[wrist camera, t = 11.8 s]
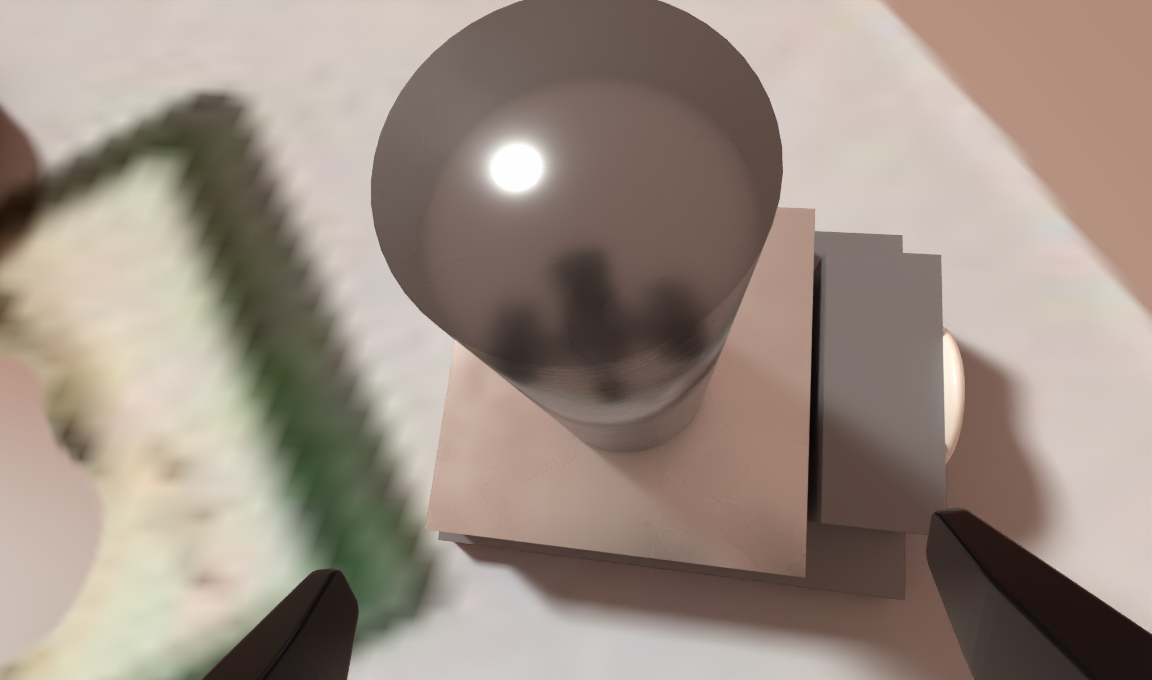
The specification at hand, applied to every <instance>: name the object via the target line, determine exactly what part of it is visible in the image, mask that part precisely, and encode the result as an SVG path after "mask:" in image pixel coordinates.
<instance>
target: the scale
mask: <svg viewBox="0 0 1152 680" xmlns="http://www.w3.org/2000/svg"><path fill="white" fill-rule="evenodd" d="M964 406H965V377H964V368H963V362H962V357H961V354H960V350H959V347H958V345H957V342H956V340H955V338H954V337H953V335H952V334H951V332H950V331H948V330H947V329H946V328H944V327H943V322H942V276H941V255H931V254H911V253H903V247H902V235H884V234H862V233H840V232H819V231H815V232H814V270H813V307H812V345H811V382H810V420H809V457H808V495H807V532H806V570H805V578H804V577H796V576H788V575H780V574H772V573H765V572H757V571H749V570H741V569H733V568H725V567H717V566H709V565H702V564H694V563H686V562H678V561H670V560H662V559H654V558H646V557H639V556H631V555H623V554H615V553H607V552H599V551H591V550H583V549H576V548H568V547H560V546H552V545H544V544H536V543H528V542H520V541H513V540H505V539H497V538H489V537H481V536H473V535H465V534H457V533H450V532H442V531H439V537H438V540H443V541H451V542H459V543H467V544H474V545H482V546H490V547H498V548H505V549H513V550H521V551H529V552H536V553H544V554H552V555H559V556H567V557H575V558H583V559H590V560H598V561H606V562H614V563H621V564H629V565H637V566H645V567H652V568H660V569H668V570H676V571H683V572H691V573H699V574H706V575H714V576H722V577H730V578H737V579H745V580H753V581H761V582H768V583H776V584H784V585H792V586H799V587H807V588H815V589H823V590H830V591H838V592H846V593H854V594H861V595H869V596H877V597H884V598H892V599H900V600H905V533H914V534H923V535H928V534H929V527H930V520H931V516H932V514H933V512H935V511H937V510H944V509H947V504H946V464H947V463H948V462H949V460H950V458H951V457H952V455H953V453H954V450H955V448H956V445H957V442H958V439H959V436H960V432H961V427H962V422H963V415H964Z"/></svg>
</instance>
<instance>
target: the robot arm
mask: <svg viewBox="0 0 1152 680" xmlns="http://www.w3.org/2000/svg"><path fill="white" fill-rule="evenodd" d="M926 555H927V561H928V565H929V567H930V570H931V573H932V575H933V578H934V580H935V583H936V586H937V588H938V591H939V593H940V596H941V598H942V601H943V603H944V606H945V609H946V611H947V614H948V616H949V619H950V621H951V624H952V627H953V629H954V632H955V634H956V637H957V639H958V642H959V645H960V647H961V650H962V652H963V655H964V657H965V659H966V662H967V664H968V667H969V669H970V671H971V673H972V675H973V677H974V679H975V680H1152V634H1151V633H1149V632H1148V631H1146V630H1145V629H1143V628H1142V627H1140V626H1139V625H1137V624H1136V623H1134V622H1133V621H1131V620H1130V619H1128V618H1127V617H1126V616H1124V615H1123V614H1121V613H1120V612H1118V611H1117V610H1115V609H1114V608H1112V607H1111V606H1109V605H1108V604H1106V603H1105V602H1103V601H1102V600H1100V599H1099V598H1097V597H1096V596H1094V595H1093V594H1091V593H1090V592H1088V591H1087V590H1085V589H1084V588H1083V587H1081V586H1080V585H1078V584H1077V583H1075V582H1074V581H1072V580H1071V579H1069V578H1068V577H1066V576H1065V575H1063V574H1062V573H1060V572H1059V571H1057V570H1056V569H1054V568H1053V567H1051V566H1050V565H1048V564H1047V563H1045V562H1044V561H1042V560H1041V559H1039V558H1038V557H1037V556H1035V555H1034V554H1032V553H1031V552H1029V551H1028V550H1026V549H1025V548H1023V547H1022V546H1020V545H1019V544H1017V543H1016V542H1014V541H1013V540H1011V539H1010V538H1008V537H1007V536H1005V535H1004V534H1002V533H1001V532H999V531H998V530H996V529H995V528H994V527H992V526H991V525H989V524H988V523H986V522H985V521H983V520H982V519H980V518H979V517H977V516H976V515H974V514H973V513H971V512H970V511H968V510H966V509H963V508H954V509H944V510H937V511H935V512H933V514H932V516H931V520H930V527H929V534H928V541H927V548H926ZM358 615H359V608H358V602H357V600H356V598H355V596H354V593H353V591H352V589H351V587H350V585H349V583H348V581H347V579H346V577H345V575H344V574H343V572H342V571H341V570H339V569H337V568H332V569H322V570H316V571H313V572H312V573H310V574H309V575H308V576H307V577H306V578H305V579H304V580H303V581H302V582H301V583H300V584H299V585H298V586H297V587H296V588H295V589H294V590H293V591H292V592H291V593H290V594H289V595H288V596H286V597H285V598H284V599H283V600H282V601H281V602H280V603H279V604H278V605H277V606H276V607H275V608H274V609H273V610H272V611H271V612H270V613H269V614H268V615H267V616H266V617H265V618H264V619H263V620H262V621H261V622H260V623H259V624H258V625H257V626H256V627H255V628H254V629H253V630H252V631H251V632H250V633H249V634H247V635H246V636H245V637H244V638H243V639H242V640H241V641H240V642H239V643H238V644H237V645H236V646H235V647H234V648H233V649H232V650H231V651H230V652H229V653H228V654H227V655H226V656H225V657H224V658H223V659H222V660H221V661H220V662H219V663H218V664H217V665H216V666H215V667H214V668H213V669H212V670H211V671H210V672H208V673H207V674H206V675H205V676H204V677H203V678H202V679H201V680H347V677H348V671H349V666H350V660H351V655H352V649H353V644H354V638H355V633H356V627H357V622H358Z"/></svg>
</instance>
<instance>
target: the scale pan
mask: <svg viewBox="0 0 1152 680" xmlns="http://www.w3.org/2000/svg"><path fill="white" fill-rule="evenodd" d="M814 232H815V209H804V208H780V207H777V210H776V214H775V217H774V221H773V225H772V227H771V230H770V232H769V235H768V237H767V240H766V242H765V245H764V247H763V250H762V252H761V254H760V257H759V259H758V262H757V264H756V267H755V269H754V272H753V274H752V277H751V279H750V282H749V284H748V287H747V289H746V292H745V294H744V297H743V299H742V302H741V304H740V307H739V309H738V312H737V314H736V317H735V319H734V322H733V324H732V327H731V329H730V332H729V334H728V337H727V339H726V342H725V344H724V347H723V349H722V352H721V354H720V357H719V359H718V362H717V364H716V367H715V369H714V372H713V374H712V377H711V379H710V382H709V384H708V387H707V389H706V392H705V394H704V397H703V399H702V401H701V404H700V406H699V408H698V410H697V412H696V413H695V415H694V417H693V418H692V419H691V421H690V422H689V423H688V424H687V426H686V427H684V428H683V429H682V430H681V431H680V432H679V433H678V434H677V435H675V436H674V437H673V438H671V439H670V440H668V441H666V442H664V443H663V444H661V445H659V446H656V447H653V448H651V449H647V450H643V451H638V452H628V453H627V452H613V451H607V450H603V449H600V448H597V447H594V446H592V445H590V444H588V443H586V442H584V441H582V440H581V439H579V438H578V437H576V436H575V435H574V434H572V433H571V432H570V431H569V430H567V429H566V428H565V427H564V426H562V425H561V424H560V423H559V422H557V421H556V420H555V419H554V418H552V417H551V416H550V415H549V414H547V413H546V412H545V411H544V410H542V409H541V408H540V407H539V406H537V405H536V404H535V403H534V402H532V401H531V400H530V399H529V398H527V397H526V396H525V395H524V394H522V393H521V392H520V391H519V390H517V389H516V388H515V387H514V386H512V385H511V384H510V383H509V382H507V381H506V380H505V379H504V378H502V377H501V376H500V375H499V374H497V373H496V372H495V371H494V370H492V369H491V368H490V367H489V366H487V365H486V364H485V363H484V362H482V361H481V360H480V359H479V358H477V357H476V356H475V355H474V354H472V353H471V352H470V351H469V350H467V349H466V348H465V347H464V346H462V345H461V344H460V343H459V342H457V341H456V340H455V344H454V350H453V356H452V363H451V369H450V375H449V382H448V388H447V394H446V401H445V407H444V413H443V420H442V426H441V432H440V438H439V445H438V451H437V457H436V464H435V470H434V476H433V483H432V489H431V495H430V502H429V508H428V514H427V520H426V527H425V529H426V530H434V531H442V532H450V533H457V534H465V535H473V536H481V537H489V538H497V539H505V540H513V541H520V542H528V543H536V544H544V545H552V546H560V547H568V548H576V549H583V550H591V551H599V552H607V553H615V554H623V555H631V556H639V557H646V558H654V559H662V560H670V561H678V562H686V563H694V564H702V565H709V566H717V567H725V568H733V569H741V570H749V571H757V572H765V573H772V574H780V575H788V576H796V577H804V578H805V570H806V532H807V495H808V457H809V420H810V382H811V345H812V307H813V270H814Z"/></svg>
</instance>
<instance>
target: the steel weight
mask: <svg viewBox="0 0 1152 680" xmlns="http://www.w3.org/2000/svg"><path fill="white" fill-rule="evenodd" d="M782 174H783V166H782V145H781V139H780V134H779V129H778V123H777V120H776V117H775V114H774V111H773V108H772V105H771V102H770V100H769V97H768V95H767V93H766V92H765V90H764V88H763V86H762V84H761V82H760V80H759V78H758V76H757V75H756V74H755V72H754V71H753V69H752V68H751V67H750V65H749V64H748V63H747V61H746V60H745V58H744V57H743V56H742V55H741V54H740V53H739V52H738V51H737V50H736V49H735V48H734V47H733V46H732V45H731V44H730V43H729V42H728V40H727V39H725V38H724V37H723V36H721V35H720V34H719V33H718V32H716V31H715V30H714V29H713V28H711V27H710V26H709V25H707V24H706V23H704V22H702V21H701V20H699V19H697V18H696V17H694V16H692V15H691V14H689V13H687V12H685V11H683V10H681V9H678V8H676V7H674V6H671V5H669V4H667V3H664V2H661V1H658V0H523V1H519V2H516V3H514V4H511V5H509V6H506V7H504V8H501V9H499V10H496V11H494V12H492V13H490V14H488V15H486V16H484V17H483V18H481V19H479V20H477V21H475V22H473V23H471V24H470V25H469V26H467V27H466V28H464V29H463V30H461V31H460V32H458V33H457V34H455V35H454V36H452V37H451V38H450V39H449V40H448V41H446V42H445V43H444V44H443V45H442V46H440V47H439V48H438V49H437V50H436V51H435V52H433V53H432V54H431V56H430V57H429V58H428V59H427V60H426V61H425V62H424V63H423V64H422V65H421V66H420V67H419V68H418V69H417V71H416V72H415V73H414V74H413V76H412V77H411V79H410V80H409V81H408V83H407V84H406V85H405V87H404V88H403V89H402V91H401V93H400V94H399V96H398V98H397V100H396V101H395V103H394V105H393V107H392V108H391V110H390V112H389V115H388V117H387V119H386V122H385V124H384V127H383V129H382V131H381V134H380V138H379V141H378V145H377V149H376V152H375V156H374V163H373V170H372V178H371V206H372V213H373V220H374V226H375V230H376V234H377V237H378V241H379V244H380V247H381V251H382V253H383V255H384V257H385V259H386V262H387V264H388V266H389V268H390V270H391V272H392V274H393V276H394V277H395V279H396V280H397V282H398V283H399V285H400V286H401V288H402V289H403V291H404V292H405V294H406V295H407V296H408V297H409V298H410V299H411V301H412V302H413V303H414V304H415V305H416V306H417V307H418V308H419V310H420V311H421V312H422V313H423V314H425V315H426V316H427V317H428V318H429V319H430V320H432V321H433V322H434V323H435V324H436V325H438V326H439V327H440V328H441V329H442V330H444V331H445V332H446V333H447V334H449V335H450V336H451V337H452V338H454V339H455V340H456V341H457V342H459V343H460V344H461V345H462V346H464V347H465V348H466V349H467V350H469V351H470V352H471V353H472V354H474V355H475V356H476V357H477V358H479V359H480V360H481V361H482V362H484V363H485V364H486V365H487V366H489V367H490V368H491V369H492V370H494V371H495V372H496V373H497V374H499V375H500V376H501V377H502V378H504V379H505V380H506V381H507V382H509V383H510V384H511V385H512V386H514V387H515V388H516V389H517V390H519V391H520V392H521V393H522V394H524V395H525V396H526V397H527V398H529V399H530V400H531V401H532V402H534V403H535V404H536V405H537V406H539V407H540V408H541V409H542V410H544V411H545V412H546V413H547V414H549V415H550V416H551V417H552V418H554V419H555V420H556V421H557V422H559V423H560V424H561V425H562V426H564V427H565V428H566V429H567V430H569V431H570V432H571V433H572V434H574V435H575V436H576V437H578V438H579V439H581V440H582V441H584V442H586V443H588V444H590V445H592V446H594V447H597V448H600V449H603V450H607V451H613V452H627V453H628V452H638V451H643V450H647V449H651V448H653V447H656V446H659V445H661V444H663V443H664V442H666V441H668V440H670V439H671V438H673V437H674V436H675V435H677V434H678V433H679V432H680V431H681V430H682V429H683V428H684V427H686V426H687V424H688V423H689V422H690V421H691V419H692V418H693V417H694V415H695V413H696V412H697V410H698V408H699V406H700V404H701V401H702V399H703V397H704V394H705V392H706V389H707V387H708V384H709V382H710V379H711V377H712V374H713V372H714V369H715V367H716V364H717V362H718V359H719V357H720V354H721V352H722V349H723V347H724V344H725V342H726V339H727V337H728V334H729V332H730V329H731V327H732V324H733V322H734V319H735V317H736V314H737V312H738V309H739V307H740V304H741V302H742V299H743V297H744V294H745V292H746V289H747V287H748V284H749V282H750V279H751V277H752V274H753V272H754V269H755V267H756V264H757V262H758V259H759V257H760V254H761V252H762V250H763V247H764V245H765V242H766V240H767V237H768V235H769V232H770V230H771V227H772V225H773V221H774V217H775V214H776V210H777V206H778V203H779V199H780V191H781V183H782Z"/></svg>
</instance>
